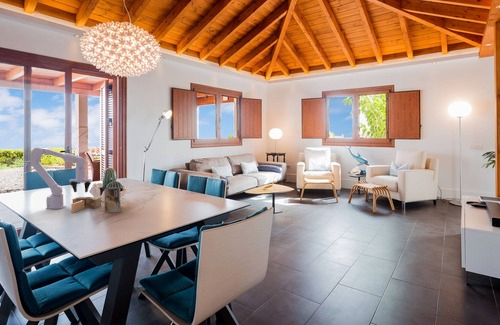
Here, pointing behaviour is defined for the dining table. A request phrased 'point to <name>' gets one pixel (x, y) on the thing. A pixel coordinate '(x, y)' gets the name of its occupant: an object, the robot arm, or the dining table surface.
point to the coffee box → (112, 200)
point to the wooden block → (89, 201)
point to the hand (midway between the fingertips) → (80, 192)
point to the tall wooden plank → (78, 206)
